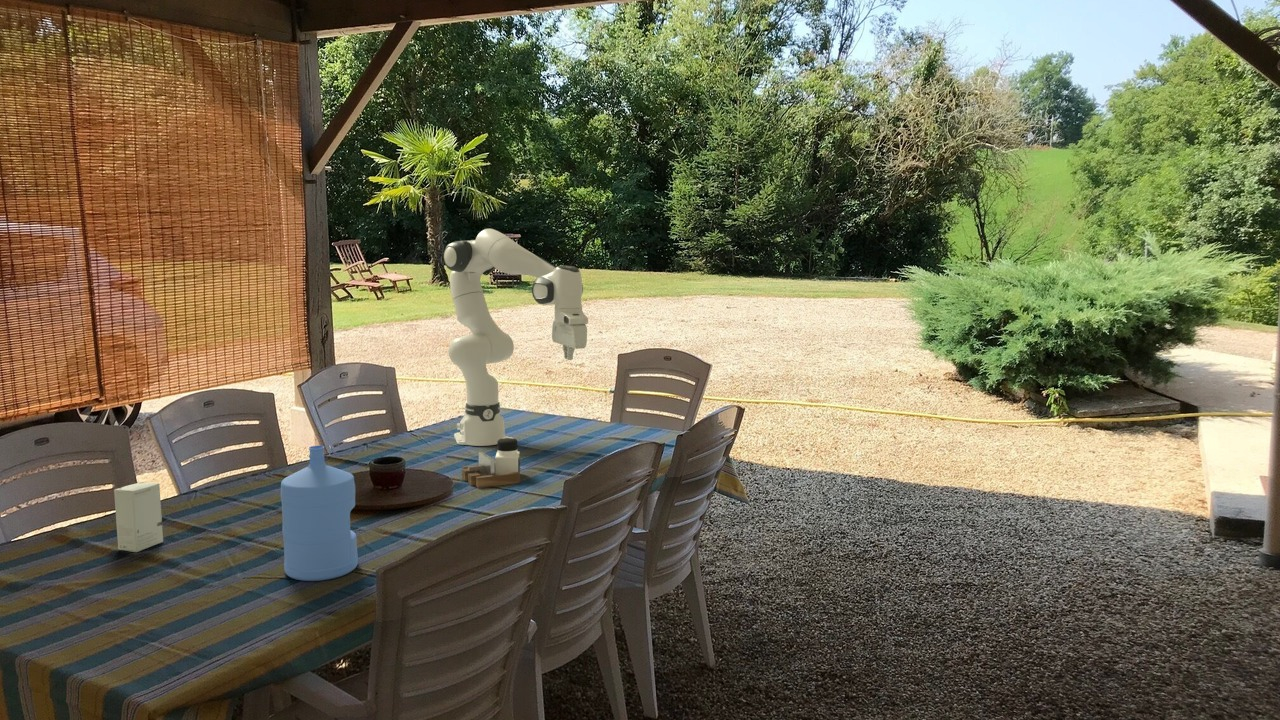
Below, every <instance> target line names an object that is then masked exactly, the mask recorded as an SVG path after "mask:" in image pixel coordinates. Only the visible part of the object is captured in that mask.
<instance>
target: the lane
mask: <svg viewBox="0 0 1280 720" xmlns="http://www.w3.org/2000/svg"><path fill="white" fill-rule="evenodd" d="M478 465H479V464H470V465H462V467H461V468H462V469H461V476H462V477H461V478H462V480H463V481H464V482H467V483H468V484H469V486H470V487H476V488H477V489H481V488H488V487H489V488H490V487H495V486H496V487H498V486H503V485H504V486H505V485H510V484H511V485H512V484H519V483H520V476H519V473H518V472H512V473H504V474H496V475H488V476H481V475H480V474H479V470H477V471H468V467H469V466H478ZM494 466H495V462H494Z"/></svg>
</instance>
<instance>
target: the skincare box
mask: <svg viewBox="0 0 1280 720" xmlns="http://www.w3.org/2000/svg"><path fill="white" fill-rule="evenodd" d="M160 486H161V485H160V483H159V482H158V483H157V482H147V481H140V482H136V483H133V484H129V485H125V486H121V487H119V488H115V489H114V490H113V494H114V506H115V507H114V509H115V520H116V521H115V522H116V524H115V525H116V536H117V549H118V550H119V551H125V552H126V551H127V552H130V553H131V552H133V553H138V552H141V551H143V550H145V549H146V550H147V549H148V548H150V547H153V546H155V545H159V544H162V543H163V542H164V534H163V533H164V532H163V518H162V505H161V503H162V502H161V489H160Z"/></svg>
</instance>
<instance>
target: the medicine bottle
mask: <svg viewBox="0 0 1280 720" xmlns="http://www.w3.org/2000/svg"><path fill="white" fill-rule="evenodd" d="M497 443H498V444H497V451H496V454H495V457H494V463H495V475H496V474H504V473H512V472H518V473H519V477H520V475H521V457H520V456H521V454H520V453H521V452H520V451H518V440H517V438H514V437H509V436H508V438H501V439H499V440H498V441H497Z"/></svg>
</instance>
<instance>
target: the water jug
mask: <svg viewBox="0 0 1280 720" xmlns="http://www.w3.org/2000/svg"><path fill="white" fill-rule="evenodd" d="M324 449H325V446H323V445H312V446H309V447H308V450H309V455H308V458H309V464H308V466H306V467H304V468H302V469H300V470H298V471H296V472H294V473H291V474H290V475H287V477H285V478H283V479H282V481H281V483H280V492H279V493H280V502H281V512H282V514H281V515H282V516H281V517H282V526H281V527H282V532H281V533H282V538H283V552H284V553H283V554H284V555H283V556H284V557H283V558H284V562H283V568H284V573H285V574H286V575H287V576H288V577H289V578H290V579H294V580H298V581H302V582H303V581H304V582H318V581H328V580H332V579H337V578H339V577H343V576H345V575H347V574H349V573H351V572H352V571H354V570H355V569H356V568H357V566H358V564H359V555H358V545H357V544H358V541H357V537H358V536H357V534H356V532H354V530H351V511H352V510H353V509H354V508H355V506H356V482H355V476H354V475H353V474H352V473H350V472H349V471H345V470H344V469H339V468H337V467H334V466H331V465H327V464H326V462H325V453H324Z"/></svg>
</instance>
